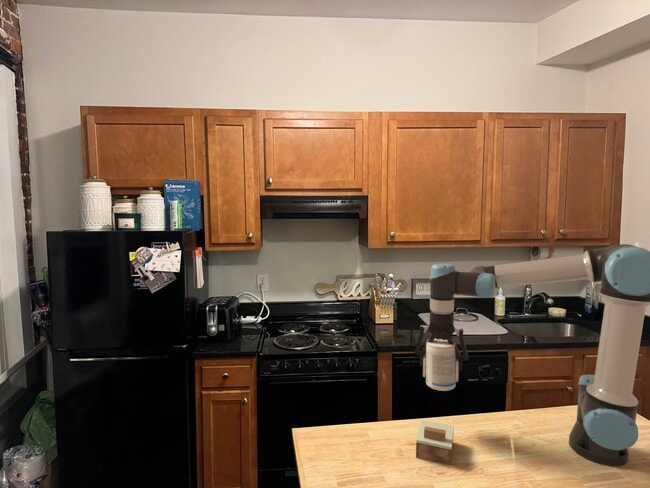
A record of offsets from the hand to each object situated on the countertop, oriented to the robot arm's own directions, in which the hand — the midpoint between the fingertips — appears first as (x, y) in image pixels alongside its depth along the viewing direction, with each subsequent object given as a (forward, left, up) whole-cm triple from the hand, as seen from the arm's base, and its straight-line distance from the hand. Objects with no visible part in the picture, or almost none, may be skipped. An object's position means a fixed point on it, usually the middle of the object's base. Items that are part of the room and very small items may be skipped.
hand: (440, 377), depth 130 cm
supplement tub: (0, 0, -3) cm, 3 cm away
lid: (0, +12, -13) cm, 18 cm away
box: (0, +12, -19) cm, 22 cm away
